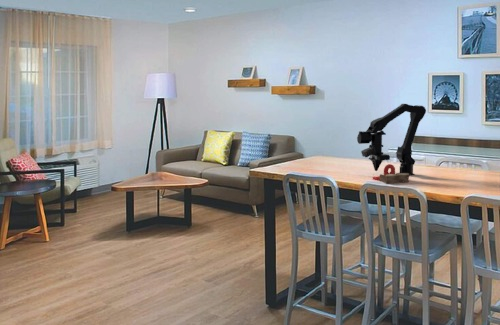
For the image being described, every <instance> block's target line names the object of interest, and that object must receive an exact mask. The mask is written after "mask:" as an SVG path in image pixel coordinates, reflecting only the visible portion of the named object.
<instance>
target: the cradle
mask: <svg viewBox="0 0 500 325" xmlns="http://www.w3.org/2000/svg"><path fill="white" fill-rule="evenodd" d="M379 176H380V180H379V182H381V183H384V184H386V185H391V184H392V185H393V184H402V183H409V181H410V180H409V178H410V175H409V173H401V174H400V172H395V174H389V175H386V176H385V175H384V174H383V173H382V174H379Z"/></svg>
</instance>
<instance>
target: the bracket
mask: <svg viewBox="0 0 500 325" xmlns="http://www.w3.org/2000/svg"><path fill="white" fill-rule="evenodd" d="M389 169H390V172H389ZM389 174H396V168H395V165H393V164H391V163H390V164H386V165H385V166H384V168H383V175H385V176H386V175H389ZM372 180H374V181H380V175H378V176H372Z"/></svg>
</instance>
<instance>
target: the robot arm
mask: <svg viewBox="0 0 500 325" xmlns="http://www.w3.org/2000/svg"><path fill="white" fill-rule="evenodd" d="M405 112H407V113H409V117H410V121H409V124H408V127H407V131H406V132H405V133H406V134H405V137H404V138H403V139H404V140H403V143H402V145H401V146H397V149H396V150H397V151H396V152H395V154H396V156H395V157H396V159H397V160H398V162H399V163H400V166H399V173H400V174H401V173H409V176H413V175H415V173H414V165H415V163H416V160H415V159H414V158H413V157H412V156H413V155H412V153H413V151H412V150H413V149H412V146H413V143H414V140H415V137H416V133H417V131H418V127H419V124H420V122H421V121H422V120H423V118H424V117H425V115H426V112H427V109H426V107H425V106H424V105H419V104H417V105H412V104H408V103H401V104H399V105H398V106H397V107H395V108H394V109H393V110H391V111H390V112H388V113H387V114H385V115H383V116H382V117H378V118H376V119H373V120H371V121H370V125H369V127H368V128H367V129H366V131H361V130H360V131H358V135H357V136H356V139H357V143H358V144H359V145H362V144H366V145H367V144H369V146H368V147H367V148H365V149H363V150H361V151H360V154H361V156H362V157H364V158H368V160H370V161H371V162H372V165H373V169H374V171H375V172H377V171H378V170H379V168H380V166H381V164H382V163H383V161H390V159H391V156H390V155H389V154H387V153H384V152H383V151H382V150H383V149H382V148H383V147H384V144H383V136H386V135H387V134H386V132H384V129H385V128H386V127H387V125H388V124H389V123H390V122H392V121H393V120H395V119H396V118H398V117H400V116H401V115H402V114H404V113H405Z"/></svg>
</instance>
